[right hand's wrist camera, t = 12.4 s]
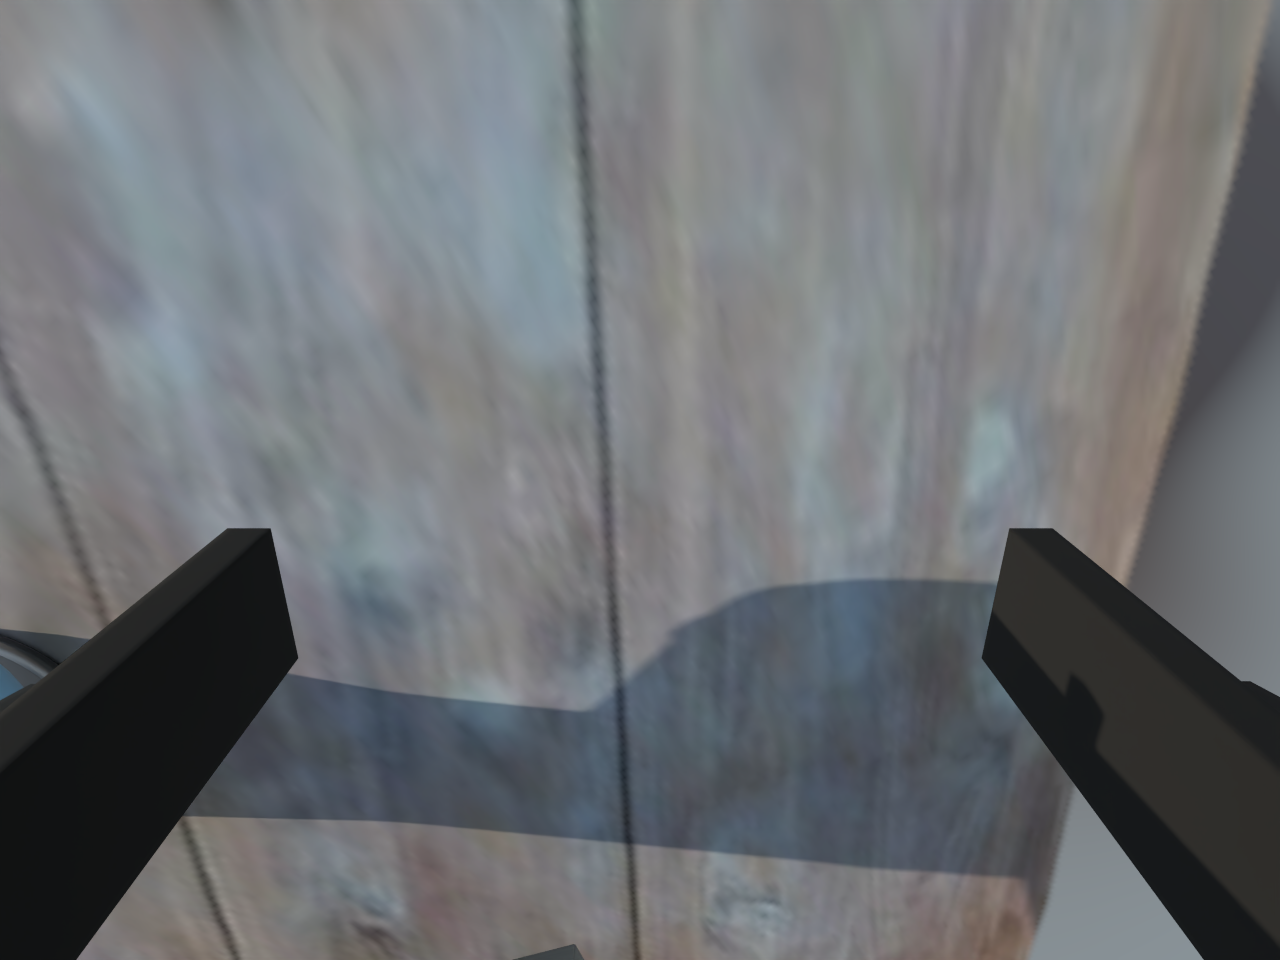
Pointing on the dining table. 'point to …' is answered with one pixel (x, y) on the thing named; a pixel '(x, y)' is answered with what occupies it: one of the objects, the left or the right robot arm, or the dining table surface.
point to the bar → (557, 954)
